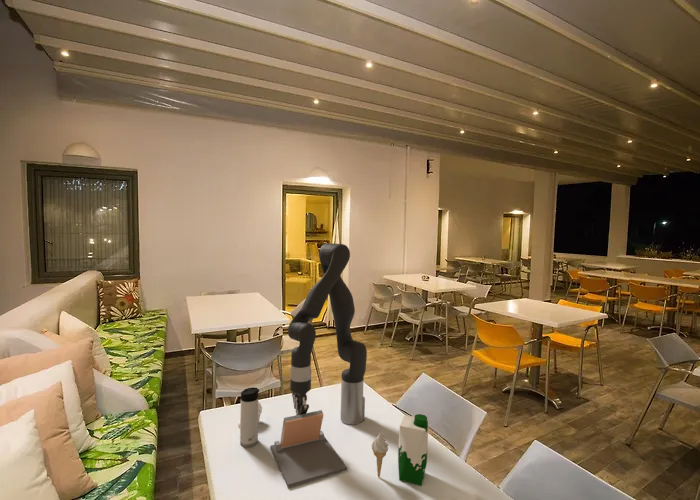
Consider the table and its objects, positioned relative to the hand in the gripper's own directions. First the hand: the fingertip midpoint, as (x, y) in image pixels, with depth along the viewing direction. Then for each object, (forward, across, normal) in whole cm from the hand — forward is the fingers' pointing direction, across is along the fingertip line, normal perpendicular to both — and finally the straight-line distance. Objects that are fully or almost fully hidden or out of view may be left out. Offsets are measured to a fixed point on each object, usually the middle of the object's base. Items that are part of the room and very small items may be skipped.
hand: (299, 423), depth 132 cm
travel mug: (+9, +9, +16) cm, 21 cm away
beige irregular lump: (+9, +22, +14) cm, 27 cm away
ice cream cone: (+9, -26, -18) cm, 33 cm away
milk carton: (+9, -30, -28) cm, 42 cm away
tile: (+6, 0, 0) cm, 6 cm away
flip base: (+8, -8, 0) cm, 12 cm away
